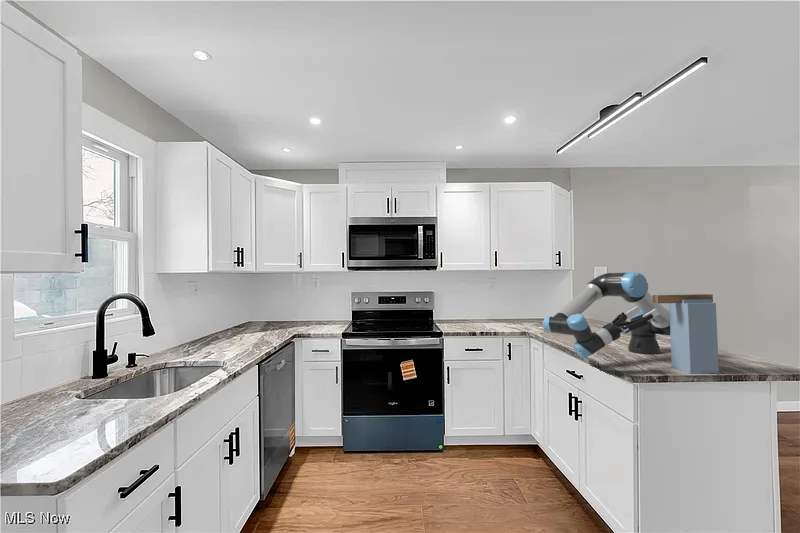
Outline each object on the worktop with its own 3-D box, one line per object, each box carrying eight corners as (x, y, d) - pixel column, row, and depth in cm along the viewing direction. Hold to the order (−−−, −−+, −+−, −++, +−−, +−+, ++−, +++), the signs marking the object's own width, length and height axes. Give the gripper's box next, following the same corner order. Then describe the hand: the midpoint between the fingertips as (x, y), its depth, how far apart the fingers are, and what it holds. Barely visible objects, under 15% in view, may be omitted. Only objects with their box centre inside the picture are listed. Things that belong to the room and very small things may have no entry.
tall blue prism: (671, 367, 179) (669, 298, 180) (698, 366, 179) (695, 298, 180) (690, 373, 167) (687, 300, 168) (718, 373, 167) (715, 299, 168)
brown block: (652, 302, 176) (652, 295, 176) (706, 301, 176) (706, 294, 176) (657, 303, 173) (657, 295, 173) (712, 302, 172) (712, 294, 172)
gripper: (598, 337, 187) (636, 314, 187) (627, 346, 162) (671, 320, 162) (589, 323, 187) (627, 301, 187) (617, 331, 162) (661, 304, 162)
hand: (647, 309), depth 174 cm, fingers open, 13 cm apart
